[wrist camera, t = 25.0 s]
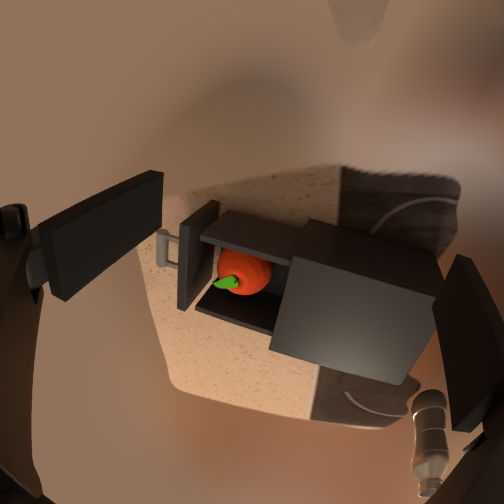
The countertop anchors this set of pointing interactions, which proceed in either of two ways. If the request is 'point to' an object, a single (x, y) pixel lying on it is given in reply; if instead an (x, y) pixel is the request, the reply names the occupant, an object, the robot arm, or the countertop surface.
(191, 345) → the countertop surface
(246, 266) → the clementine
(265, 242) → the open grey drawer
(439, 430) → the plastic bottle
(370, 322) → the dark drawer cabinet
